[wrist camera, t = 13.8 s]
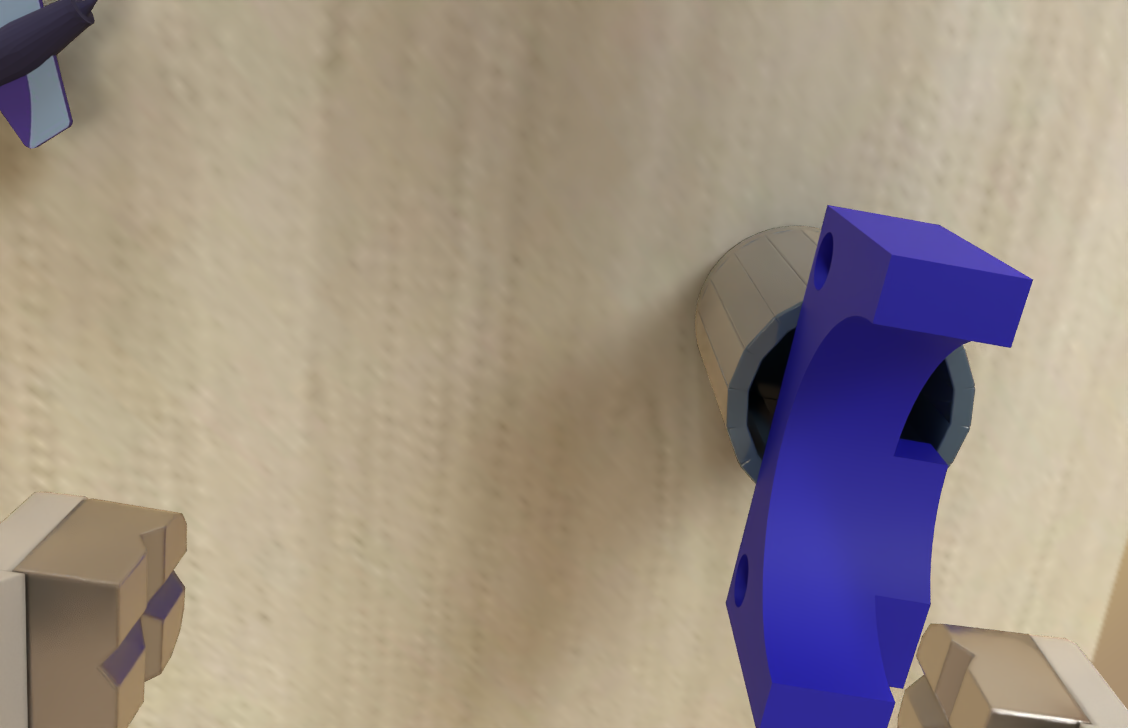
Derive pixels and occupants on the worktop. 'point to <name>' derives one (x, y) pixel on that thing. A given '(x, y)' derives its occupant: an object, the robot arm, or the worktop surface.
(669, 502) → the worktop surface
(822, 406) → the blue half clamp bracket
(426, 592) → the worktop surface
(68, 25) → the toy airplane
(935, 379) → the tumbler
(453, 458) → the worktop surface
